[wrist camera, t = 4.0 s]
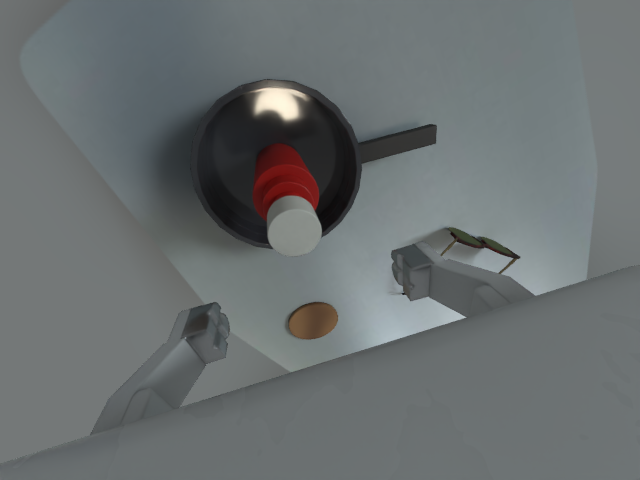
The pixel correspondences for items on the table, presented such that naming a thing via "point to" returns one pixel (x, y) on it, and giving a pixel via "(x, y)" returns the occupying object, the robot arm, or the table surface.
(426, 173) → the table surface
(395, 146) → the pan handle
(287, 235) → the sauce bottle
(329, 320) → the coaster
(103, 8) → the table surface
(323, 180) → the pan
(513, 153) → the table surface
